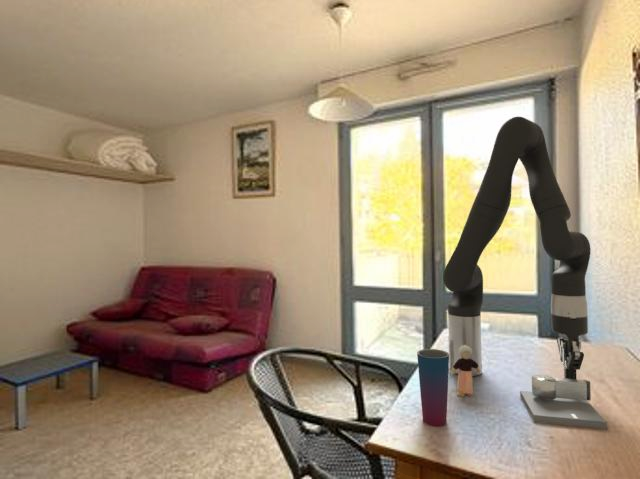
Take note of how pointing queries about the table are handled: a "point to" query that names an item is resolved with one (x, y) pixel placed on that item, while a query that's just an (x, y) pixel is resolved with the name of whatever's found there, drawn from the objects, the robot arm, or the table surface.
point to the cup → (433, 385)
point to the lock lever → (560, 388)
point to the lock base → (562, 411)
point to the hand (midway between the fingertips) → (570, 383)
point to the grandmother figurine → (465, 371)
